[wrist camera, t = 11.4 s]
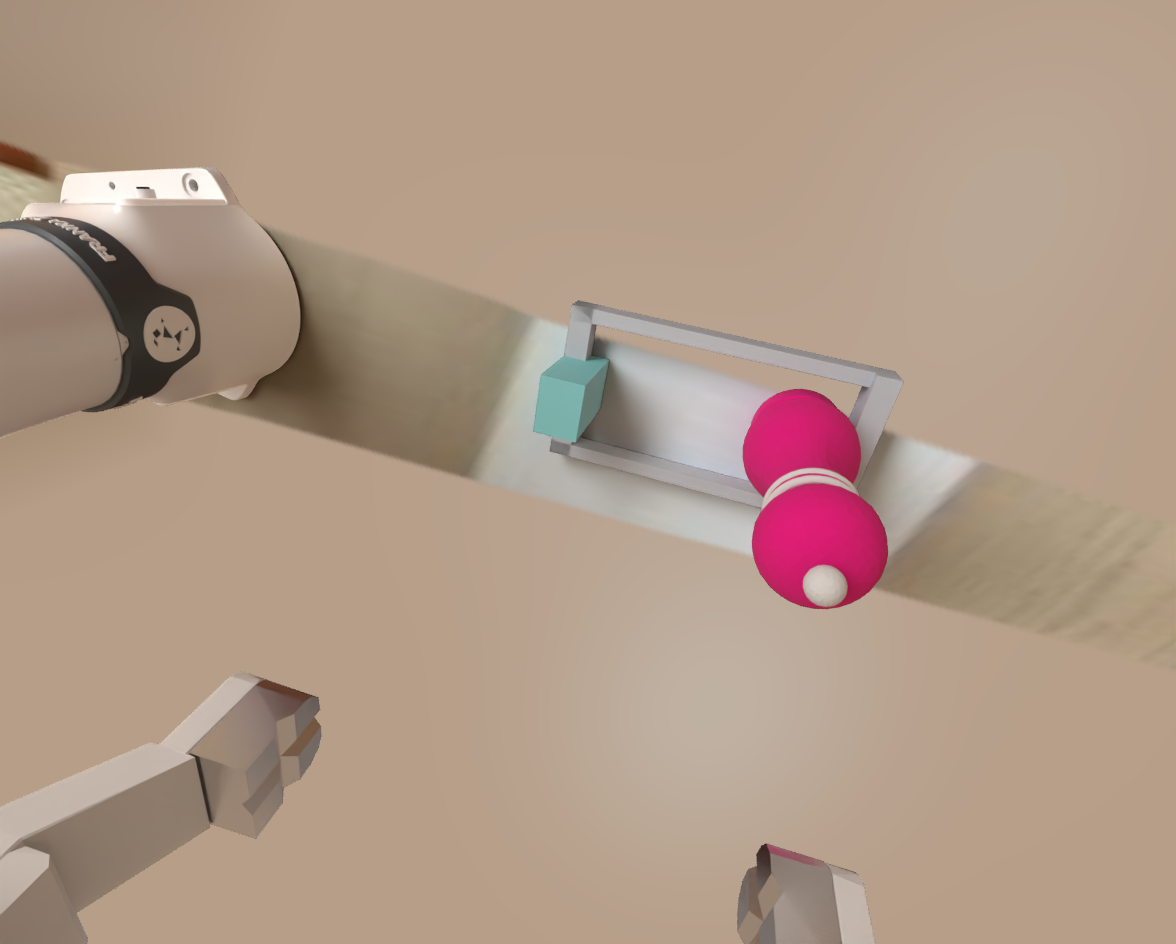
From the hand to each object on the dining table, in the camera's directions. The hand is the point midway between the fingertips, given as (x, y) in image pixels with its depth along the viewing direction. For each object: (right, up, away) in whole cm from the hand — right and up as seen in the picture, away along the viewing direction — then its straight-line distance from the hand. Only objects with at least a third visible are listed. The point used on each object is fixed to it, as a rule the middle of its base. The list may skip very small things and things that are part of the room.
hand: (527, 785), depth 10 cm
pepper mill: (+16, +9, +31) cm, 36 cm away
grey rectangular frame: (+10, +10, +32) cm, 35 cm away
